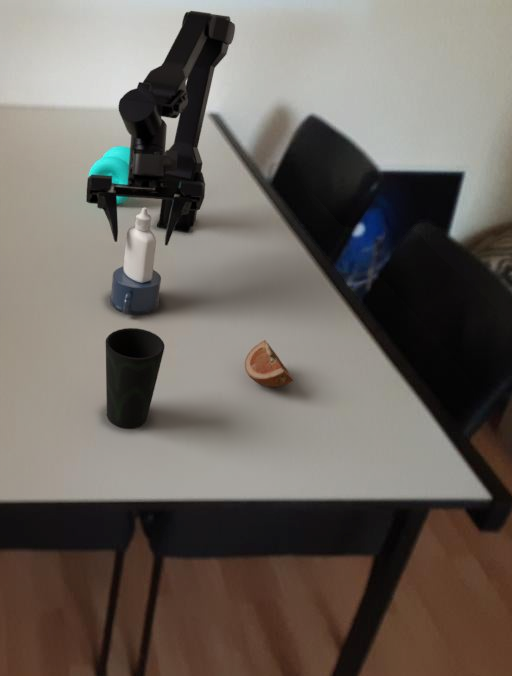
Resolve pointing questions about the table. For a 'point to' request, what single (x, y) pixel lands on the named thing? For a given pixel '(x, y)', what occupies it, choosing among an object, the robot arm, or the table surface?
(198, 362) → the table surface
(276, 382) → the fruit slice
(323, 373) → the table surface
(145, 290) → the blue mug
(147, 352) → the cup
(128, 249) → the eye dropper bottle
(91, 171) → the donuts
